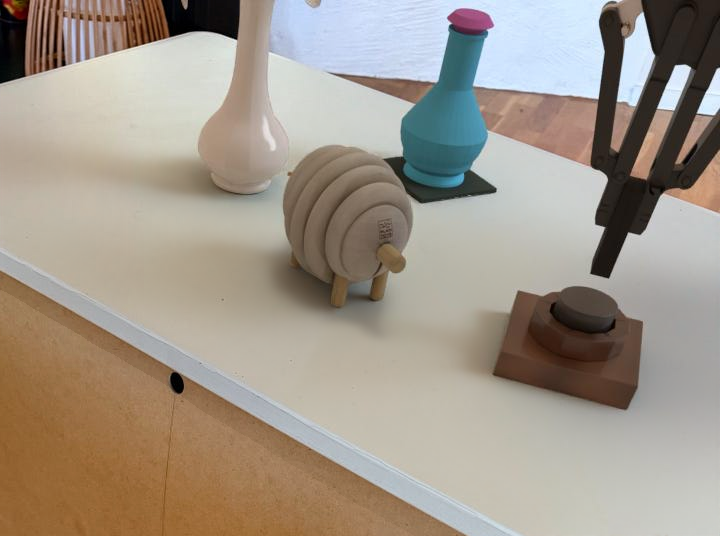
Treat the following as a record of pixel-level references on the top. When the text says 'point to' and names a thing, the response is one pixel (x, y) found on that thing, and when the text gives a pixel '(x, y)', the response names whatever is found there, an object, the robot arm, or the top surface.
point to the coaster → (428, 193)
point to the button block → (570, 353)
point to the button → (585, 310)
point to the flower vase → (247, 112)
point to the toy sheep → (347, 219)
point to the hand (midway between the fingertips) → (600, 268)
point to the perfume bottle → (449, 109)
